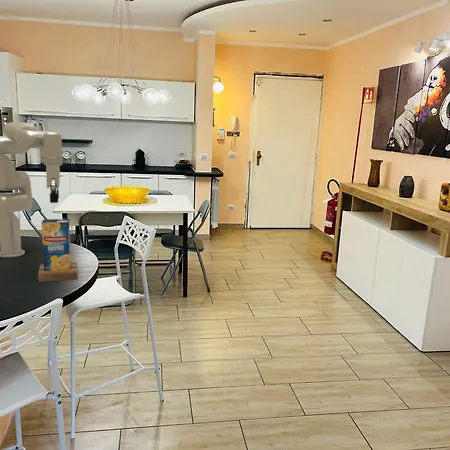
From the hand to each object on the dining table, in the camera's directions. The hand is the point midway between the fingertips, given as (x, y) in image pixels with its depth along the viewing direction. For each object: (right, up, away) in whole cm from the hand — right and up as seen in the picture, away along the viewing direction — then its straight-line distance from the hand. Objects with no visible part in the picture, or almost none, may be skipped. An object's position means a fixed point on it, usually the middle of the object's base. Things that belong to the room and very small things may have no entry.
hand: (54, 200), depth 192 cm
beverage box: (-1, -30, +7) cm, 31 cm away
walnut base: (-1, -33, +7) cm, 34 cm away
